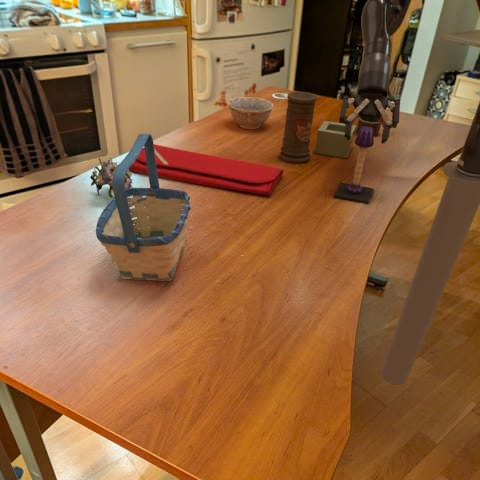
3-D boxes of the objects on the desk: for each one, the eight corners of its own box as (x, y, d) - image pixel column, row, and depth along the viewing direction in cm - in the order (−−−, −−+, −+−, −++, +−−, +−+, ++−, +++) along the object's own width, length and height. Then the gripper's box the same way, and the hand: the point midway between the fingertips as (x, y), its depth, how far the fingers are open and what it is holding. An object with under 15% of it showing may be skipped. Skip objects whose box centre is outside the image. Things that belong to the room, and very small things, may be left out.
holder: (352, 147, 151) (356, 125, 146) (347, 158, 143) (351, 135, 139) (321, 142, 153) (324, 120, 149) (314, 152, 146) (317, 130, 141)
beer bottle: (366, 128, 167) (383, 53, 151) (383, 134, 162) (401, 58, 146) (351, 131, 163) (366, 54, 148) (367, 138, 158) (385, 60, 143)
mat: (372, 190, 126) (373, 188, 126) (368, 203, 120) (368, 201, 119) (340, 184, 128) (340, 182, 128) (334, 197, 122) (334, 195, 121)
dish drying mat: (268, 198, 119) (269, 184, 117) (126, 172, 128) (125, 159, 126) (283, 175, 131) (284, 162, 129) (152, 153, 140) (151, 140, 137)
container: (274, 157, 141) (279, 94, 130) (291, 150, 147) (299, 89, 135) (297, 165, 137) (305, 101, 125) (314, 158, 142) (324, 95, 131)
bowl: (281, 127, 163) (283, 105, 158) (249, 137, 154) (250, 113, 149) (249, 116, 171) (251, 94, 167) (217, 124, 163) (218, 101, 158)
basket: (124, 235, 102) (110, 126, 87) (197, 242, 101) (195, 133, 86) (91, 291, 86) (66, 169, 71) (177, 300, 85) (170, 178, 70)
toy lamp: (363, 195, 122) (378, 131, 111) (345, 194, 122) (359, 130, 111) (360, 188, 125) (375, 125, 115) (343, 187, 126) (356, 123, 115)
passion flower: (127, 219, 119) (121, 196, 107) (86, 207, 118) (75, 183, 107) (141, 181, 122) (135, 155, 110) (101, 170, 121) (91, 142, 110)
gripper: (347, 66, 112) (338, 130, 110) (407, 71, 110) (399, 135, 109) (343, 84, 119) (335, 144, 118) (399, 89, 118) (391, 150, 116)
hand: (365, 140), depth 113 cm, fingers open, 8 cm apart
